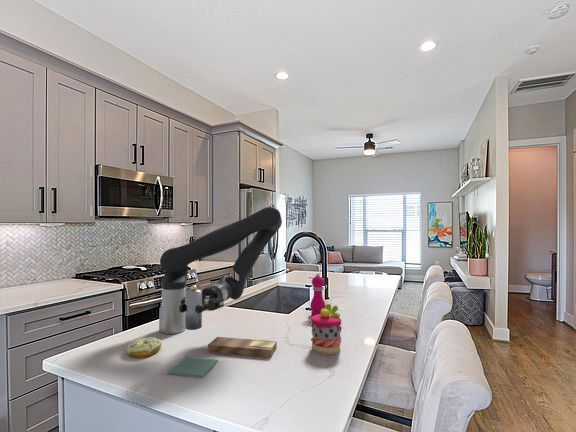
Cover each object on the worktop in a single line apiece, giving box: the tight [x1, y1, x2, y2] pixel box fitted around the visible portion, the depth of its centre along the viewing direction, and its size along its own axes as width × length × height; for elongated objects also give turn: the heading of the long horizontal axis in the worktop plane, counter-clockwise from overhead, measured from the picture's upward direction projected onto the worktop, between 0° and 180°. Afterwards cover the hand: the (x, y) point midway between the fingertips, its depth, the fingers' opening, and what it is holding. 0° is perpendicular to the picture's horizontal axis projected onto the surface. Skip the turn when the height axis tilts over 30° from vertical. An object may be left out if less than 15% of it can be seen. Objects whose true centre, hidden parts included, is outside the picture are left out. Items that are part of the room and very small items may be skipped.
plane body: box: [207, 336, 278, 359], centre depth 113 cm, size 22×8×3 cm, turn 79°
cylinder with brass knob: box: [185, 284, 203, 331], centre depth 99 cm, size 5×5×13 cm
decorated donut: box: [126, 336, 162, 359], centre depth 111 cm, size 10×11×4 cm
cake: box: [310, 303, 342, 356], centre depth 115 cm, size 10×11×15 cm
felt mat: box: [167, 356, 219, 379], centre depth 99 cm, size 11×11×1 cm
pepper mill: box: [309, 272, 326, 317], centre depth 158 cm, size 7×7×20 cm
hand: (189, 309), depth 96 cm, fingers closed on cylinder with brass knob, 4 cm apart
